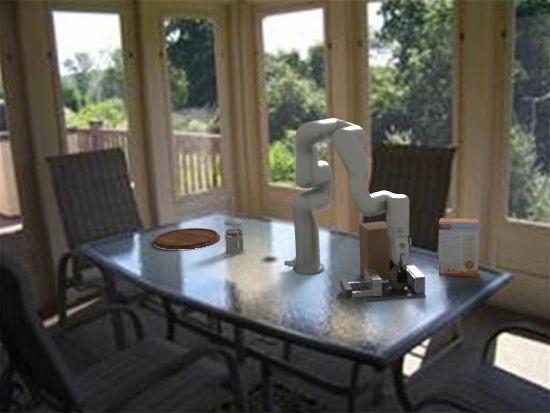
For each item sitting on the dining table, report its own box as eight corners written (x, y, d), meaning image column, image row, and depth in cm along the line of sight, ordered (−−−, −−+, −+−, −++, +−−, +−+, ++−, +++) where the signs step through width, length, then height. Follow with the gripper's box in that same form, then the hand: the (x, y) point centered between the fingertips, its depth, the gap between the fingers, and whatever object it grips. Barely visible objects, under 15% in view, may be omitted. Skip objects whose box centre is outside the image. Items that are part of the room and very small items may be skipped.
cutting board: (185, 229, 313) (185, 224, 313) (234, 236, 295) (233, 231, 294) (138, 246, 288) (138, 241, 288) (188, 255, 270) (187, 249, 269)
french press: (220, 255, 266) (215, 199, 261) (231, 247, 277) (227, 193, 271) (240, 256, 263) (236, 200, 257) (251, 248, 273) (248, 194, 267)
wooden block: (394, 279, 226) (393, 227, 221) (368, 282, 224) (367, 230, 220) (384, 270, 235) (384, 220, 231) (359, 273, 234) (358, 223, 229)
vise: (368, 302, 206) (367, 282, 204) (359, 287, 219) (358, 268, 218) (425, 297, 207) (426, 277, 206) (413, 283, 221) (413, 264, 219)
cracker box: (478, 272, 228) (479, 218, 224) (477, 277, 223) (479, 222, 218) (439, 269, 233) (439, 217, 228) (438, 275, 228) (438, 221, 223)
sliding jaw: (346, 298, 206) (346, 281, 205) (340, 286, 218) (339, 270, 216) (381, 295, 207) (381, 279, 205) (373, 283, 218) (373, 267, 217)
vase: (391, 292, 210) (390, 268, 208) (385, 285, 216) (385, 262, 214) (410, 291, 210) (410, 267, 208) (404, 284, 217) (404, 260, 215)
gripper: (416, 236, 200) (416, 285, 204) (401, 223, 217) (401, 268, 221) (394, 238, 200) (394, 287, 204) (380, 224, 217) (381, 270, 221)
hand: (398, 277), depth 212 cm, fingers open, 9 cm apart
